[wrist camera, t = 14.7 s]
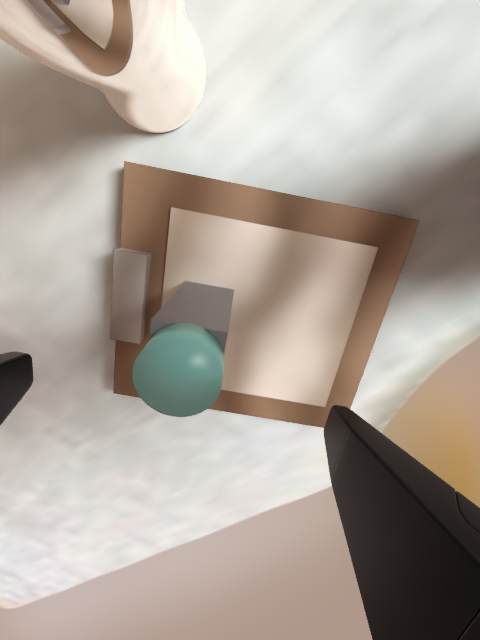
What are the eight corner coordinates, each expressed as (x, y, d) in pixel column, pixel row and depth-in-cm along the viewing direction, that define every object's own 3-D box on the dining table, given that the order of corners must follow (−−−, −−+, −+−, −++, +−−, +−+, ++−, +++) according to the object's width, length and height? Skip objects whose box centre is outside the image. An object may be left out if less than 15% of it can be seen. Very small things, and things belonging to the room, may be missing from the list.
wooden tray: (408, 219, 19) (428, 220, 17) (337, 420, 24) (346, 439, 22) (131, 164, 18) (117, 157, 16) (119, 384, 24) (107, 400, 21)
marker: (227, 335, 20) (214, 422, 12) (179, 326, 20) (129, 409, 12) (236, 288, 19) (228, 346, 11) (184, 279, 19) (135, 330, 11)
